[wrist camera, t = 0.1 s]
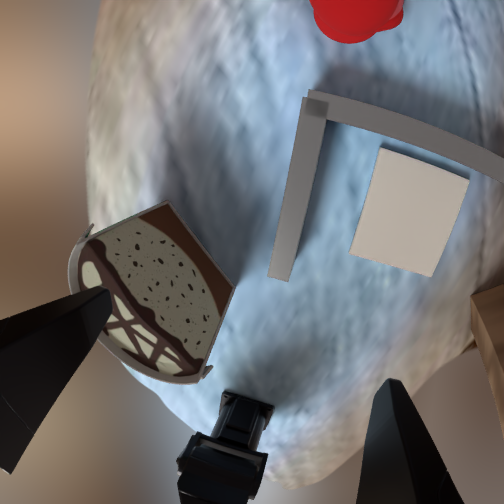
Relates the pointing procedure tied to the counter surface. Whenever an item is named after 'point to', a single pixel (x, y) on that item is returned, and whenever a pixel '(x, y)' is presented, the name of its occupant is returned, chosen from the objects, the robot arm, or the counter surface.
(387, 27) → the cap
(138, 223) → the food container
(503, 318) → the walnut block
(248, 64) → the counter surface
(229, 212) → the counter surface
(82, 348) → the robot arm
